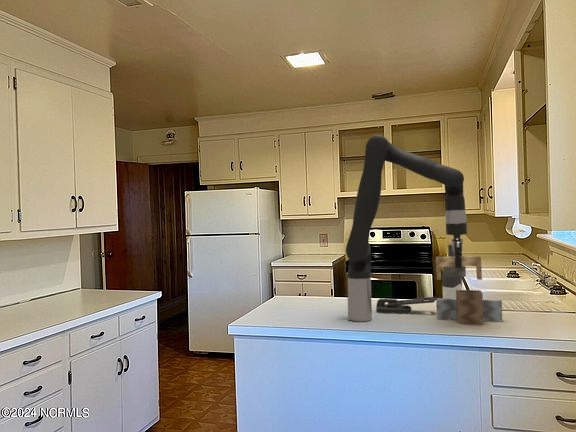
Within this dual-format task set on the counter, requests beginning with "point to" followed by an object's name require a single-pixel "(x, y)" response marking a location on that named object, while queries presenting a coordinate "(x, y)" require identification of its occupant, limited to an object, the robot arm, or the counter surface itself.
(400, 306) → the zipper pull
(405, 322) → the counter surface
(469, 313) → the grey brown blocky piece
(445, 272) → the wine bottle
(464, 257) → the wooden bridge block
